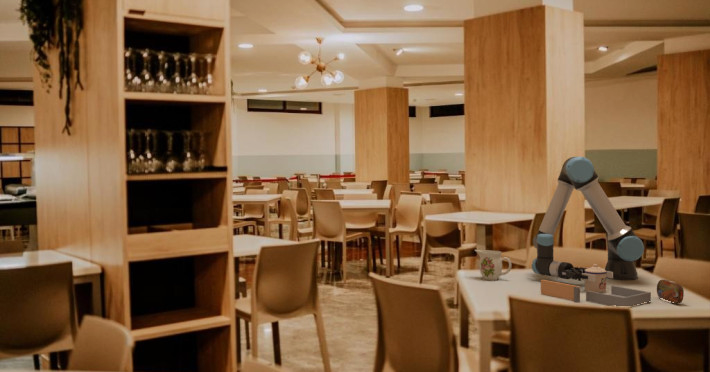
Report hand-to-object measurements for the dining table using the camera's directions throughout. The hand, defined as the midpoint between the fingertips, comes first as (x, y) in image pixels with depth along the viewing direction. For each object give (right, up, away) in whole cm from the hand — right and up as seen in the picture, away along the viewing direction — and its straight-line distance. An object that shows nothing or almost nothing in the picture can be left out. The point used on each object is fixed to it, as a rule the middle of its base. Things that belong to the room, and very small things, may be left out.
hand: (604, 276), depth 274 cm
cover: (-22, -7, -10) cm, 25 cm away
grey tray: (-4, -7, -19) cm, 21 cm away
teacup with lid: (-2, -7, +3) cm, 8 cm away
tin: (+19, -7, -20) cm, 28 cm away
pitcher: (-41, -6, +33) cm, 53 cm away
